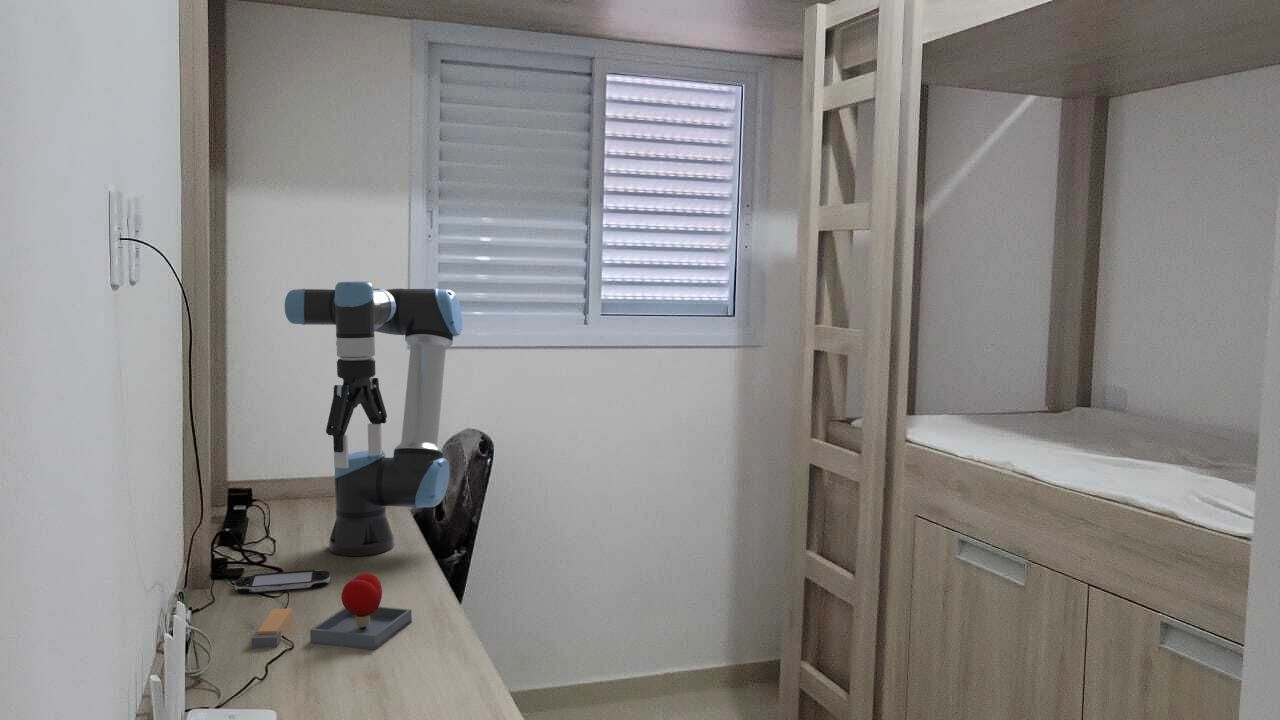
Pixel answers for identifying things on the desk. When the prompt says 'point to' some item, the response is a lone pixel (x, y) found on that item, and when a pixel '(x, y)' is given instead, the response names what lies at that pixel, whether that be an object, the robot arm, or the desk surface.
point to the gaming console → (282, 581)
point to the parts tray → (346, 633)
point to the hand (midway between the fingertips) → (358, 461)
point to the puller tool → (272, 629)
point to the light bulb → (362, 597)
